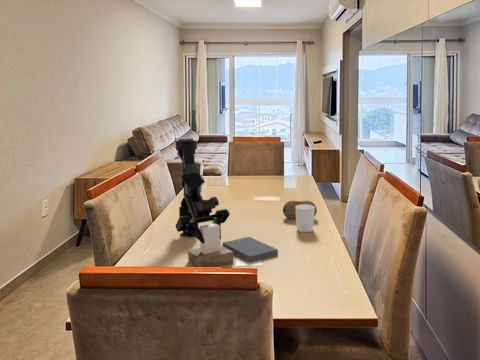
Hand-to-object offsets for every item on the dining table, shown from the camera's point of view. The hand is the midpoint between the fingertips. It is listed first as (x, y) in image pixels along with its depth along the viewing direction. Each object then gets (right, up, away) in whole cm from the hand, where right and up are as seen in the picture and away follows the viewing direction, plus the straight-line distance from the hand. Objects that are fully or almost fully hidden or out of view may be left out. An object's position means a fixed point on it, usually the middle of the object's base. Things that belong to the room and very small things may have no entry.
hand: (212, 241), depth 153 cm
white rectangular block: (-1, -4, +2) cm, 4 cm away
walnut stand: (-1, -8, +3) cm, 8 cm away
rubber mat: (+13, -5, +13) cm, 19 cm away
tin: (+37, +3, +54) cm, 65 cm away
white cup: (+36, -1, +37) cm, 52 cm away
